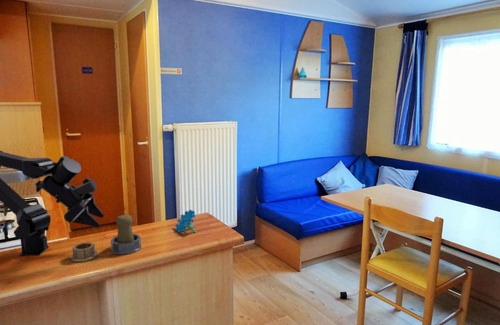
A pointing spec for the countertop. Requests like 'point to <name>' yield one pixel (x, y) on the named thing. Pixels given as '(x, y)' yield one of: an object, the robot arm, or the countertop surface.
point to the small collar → (84, 252)
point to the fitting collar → (126, 246)
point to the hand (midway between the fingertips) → (101, 221)
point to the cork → (124, 229)
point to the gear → (186, 221)
